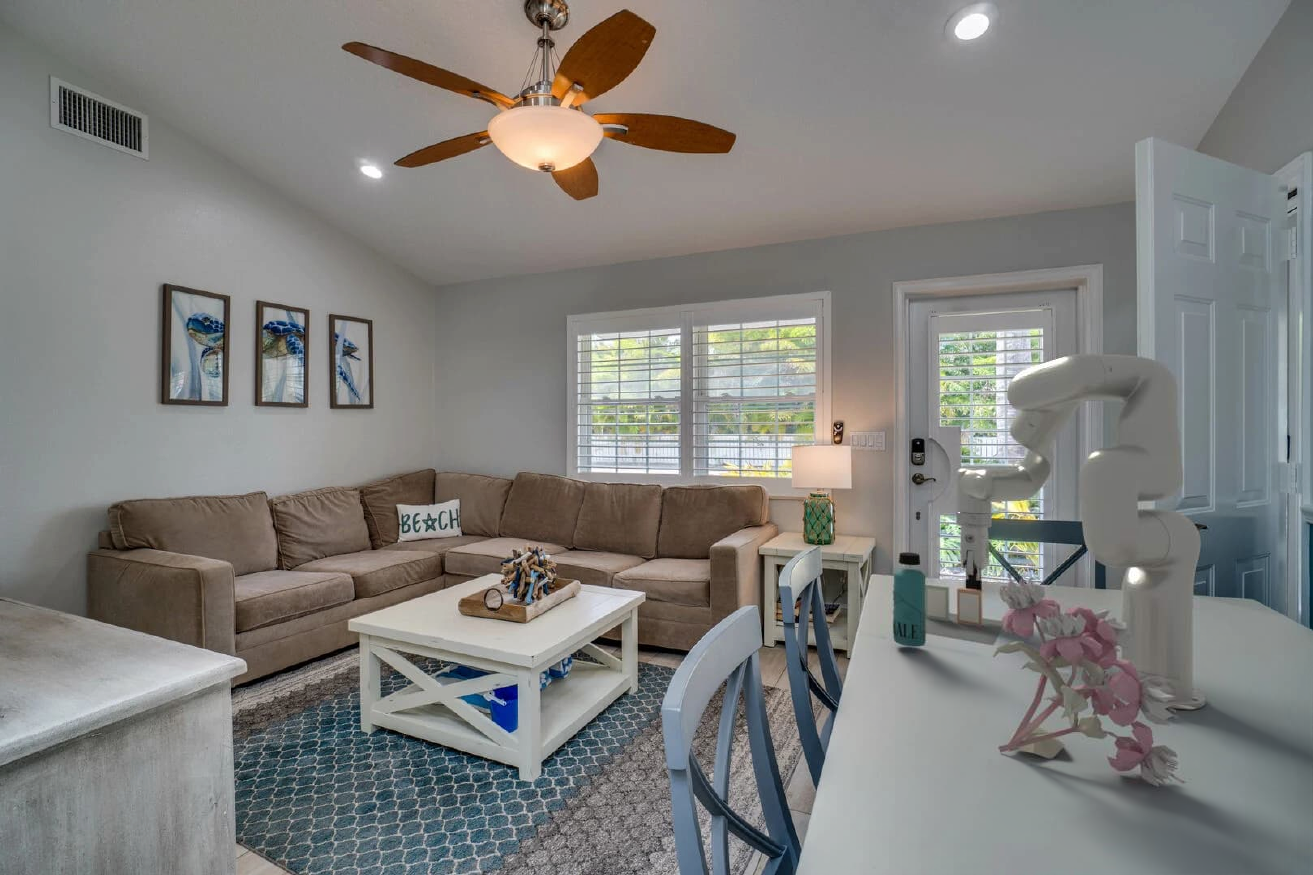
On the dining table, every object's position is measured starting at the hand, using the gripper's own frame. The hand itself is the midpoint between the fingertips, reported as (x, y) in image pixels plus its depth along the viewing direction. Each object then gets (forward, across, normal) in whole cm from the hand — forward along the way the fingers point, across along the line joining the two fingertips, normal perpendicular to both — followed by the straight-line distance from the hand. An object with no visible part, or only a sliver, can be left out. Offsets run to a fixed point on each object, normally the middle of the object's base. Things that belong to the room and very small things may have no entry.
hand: (973, 596), depth 148 cm
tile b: (+5, -5, +7) cm, 10 cm away
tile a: (+5, -5, 0) cm, 7 cm away
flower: (+6, -62, -25) cm, 67 cm away
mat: (+6, -8, +4) cm, 11 cm away
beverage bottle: (+6, -29, +7) cm, 31 cm away
